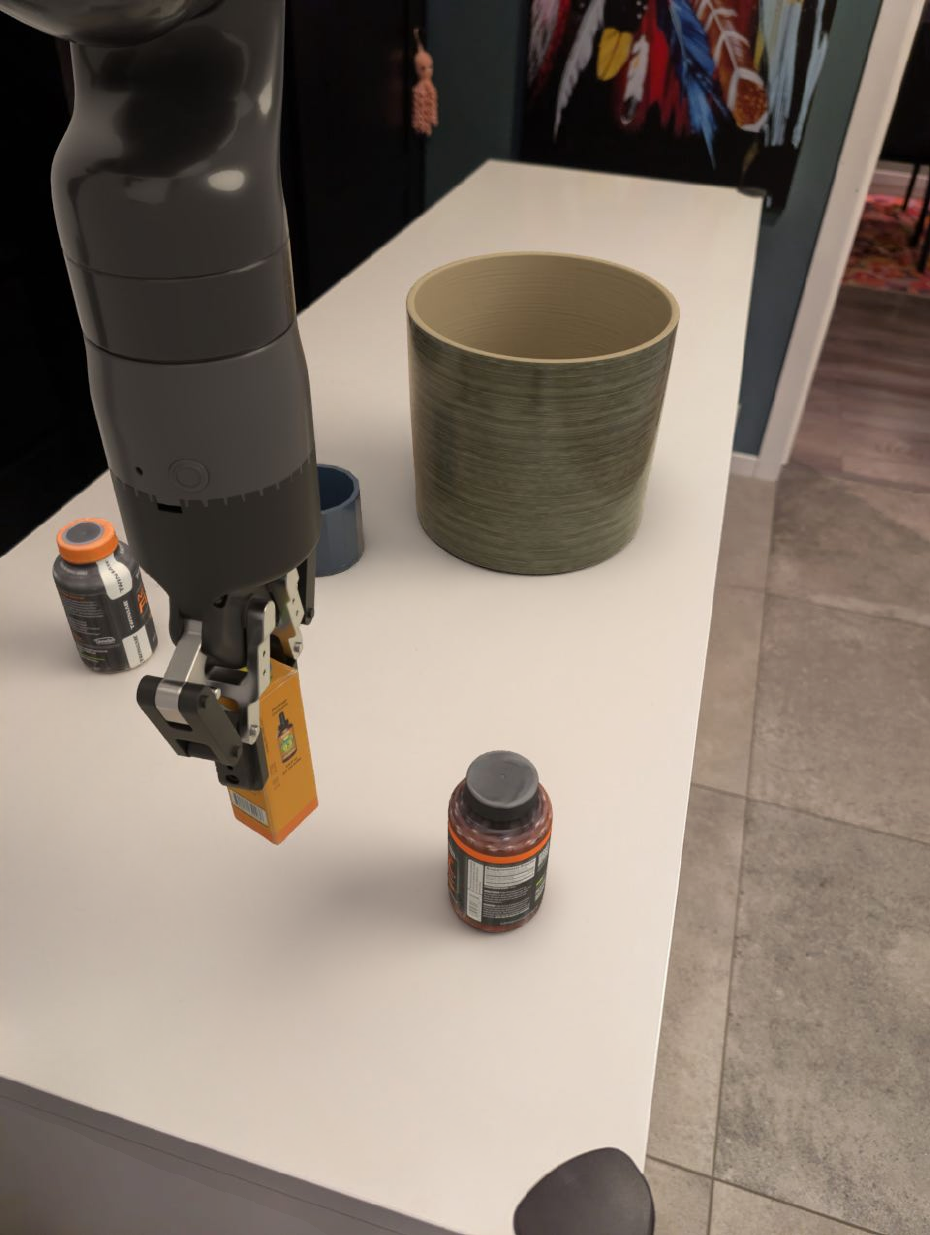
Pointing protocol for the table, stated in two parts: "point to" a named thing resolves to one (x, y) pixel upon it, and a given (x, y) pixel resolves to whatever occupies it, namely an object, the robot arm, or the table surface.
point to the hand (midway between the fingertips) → (262, 745)
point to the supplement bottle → (498, 842)
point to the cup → (338, 520)
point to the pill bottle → (103, 597)
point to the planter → (536, 405)
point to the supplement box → (279, 761)
